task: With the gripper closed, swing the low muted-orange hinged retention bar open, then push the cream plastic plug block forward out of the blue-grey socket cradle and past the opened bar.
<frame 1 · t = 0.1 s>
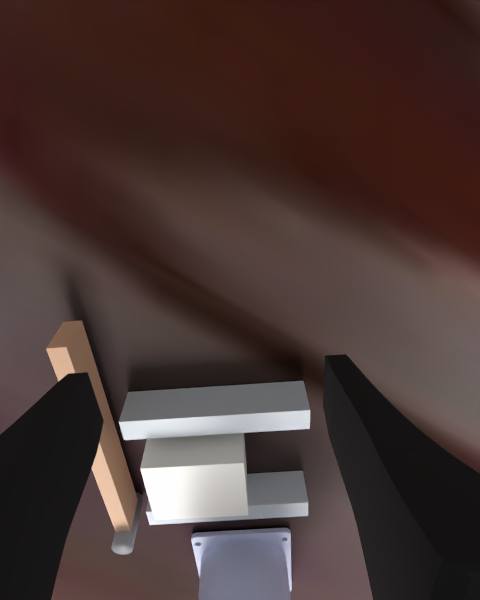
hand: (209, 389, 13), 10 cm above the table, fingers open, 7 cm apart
plug: (201, 440, 28), on the table
clip: (102, 447, 25), point 2 cm above the table, hinge at 0.0°
dock: (201, 443, 28), on the table
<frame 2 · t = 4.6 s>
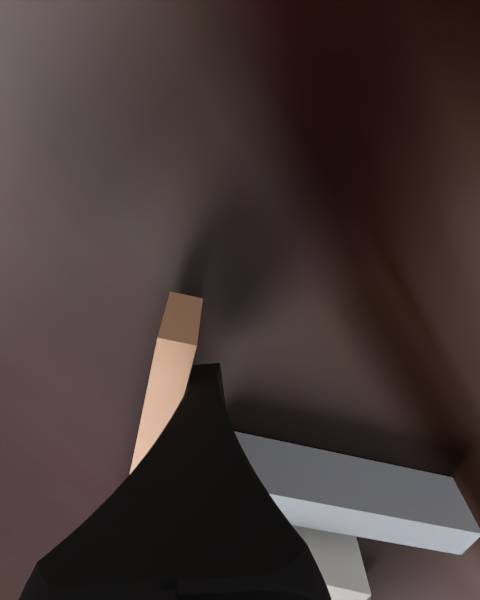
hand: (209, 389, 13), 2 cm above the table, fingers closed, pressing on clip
plug: (263, 512, 19), on the table
clip: (138, 504, 15), point 2 cm above the table, hinge at 2.6°, touching gripper
dock: (263, 517, 19), on the table
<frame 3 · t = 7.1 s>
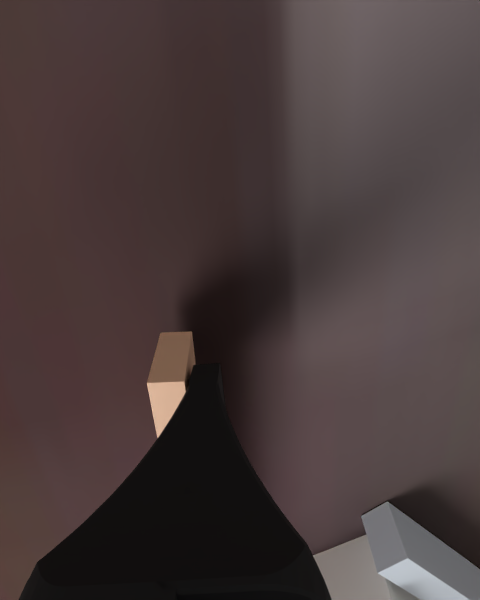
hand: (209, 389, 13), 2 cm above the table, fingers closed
plug: (353, 572, 22), on the table
clip: (196, 529, 16), point 2 cm above the table, hinge at 46.6°, touching gripper
dock: (354, 576, 22), on the table
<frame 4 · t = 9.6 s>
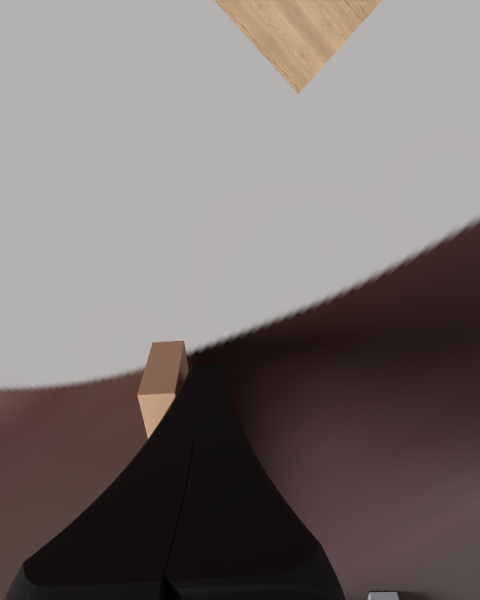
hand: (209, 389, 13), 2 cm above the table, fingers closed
clip: (194, 535, 16), point 2 cm above the table, hinge at 94.0°, touching gripper
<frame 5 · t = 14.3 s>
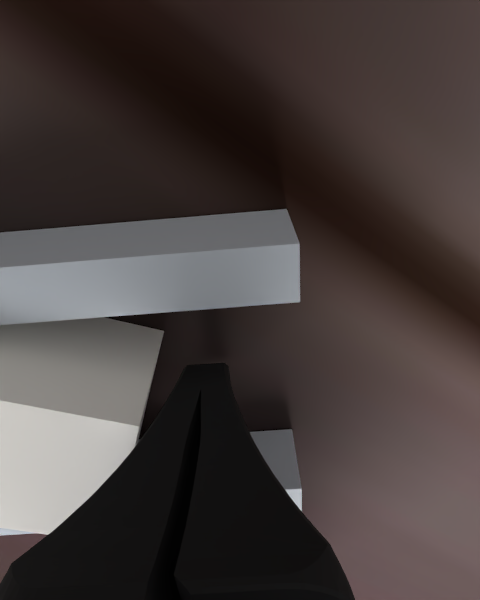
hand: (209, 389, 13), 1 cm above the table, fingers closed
plug: (62, 370, 14), on the table, touching gripper
dock: (83, 369, 14), on the table
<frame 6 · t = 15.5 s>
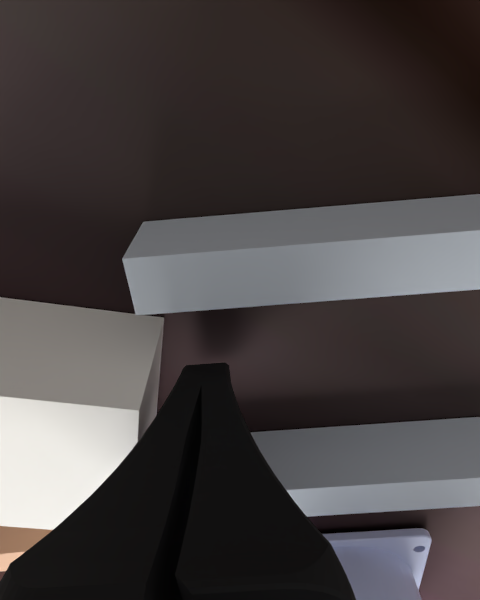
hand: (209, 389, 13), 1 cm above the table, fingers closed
plug: (70, 368, 14), on the table, touching gripper
dock: (291, 355, 14), on the table
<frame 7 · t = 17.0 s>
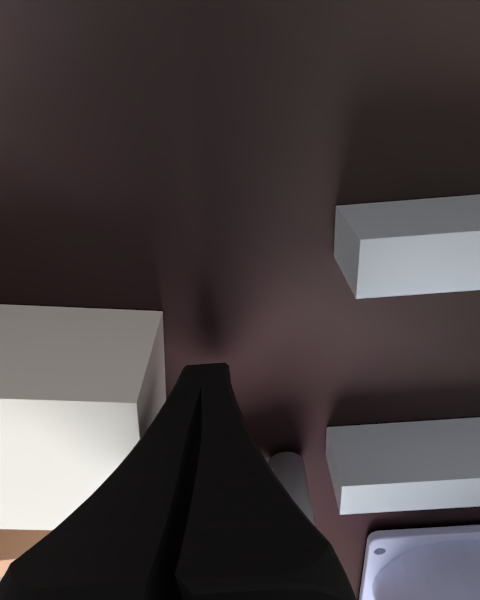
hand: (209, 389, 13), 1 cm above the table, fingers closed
plug: (76, 370, 14), on the table, touching gripper
clip: (80, 531, 15), point 2 cm above the table, hinge at 94.4°
dock: (450, 344, 14), on the table
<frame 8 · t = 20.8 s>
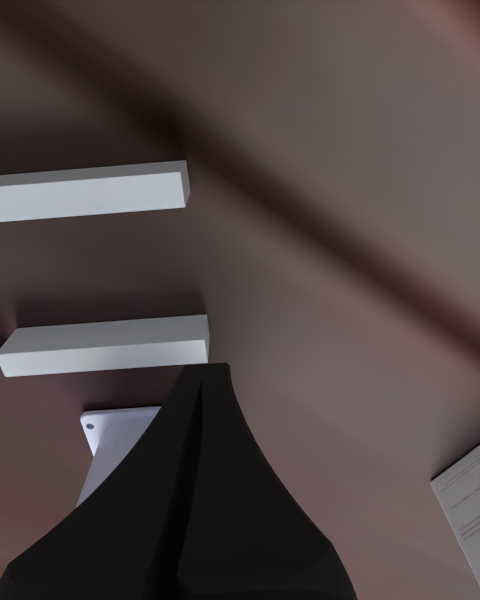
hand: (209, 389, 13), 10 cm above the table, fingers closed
dock: (68, 268, 22), on the table
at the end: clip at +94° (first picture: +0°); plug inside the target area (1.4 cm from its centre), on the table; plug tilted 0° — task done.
